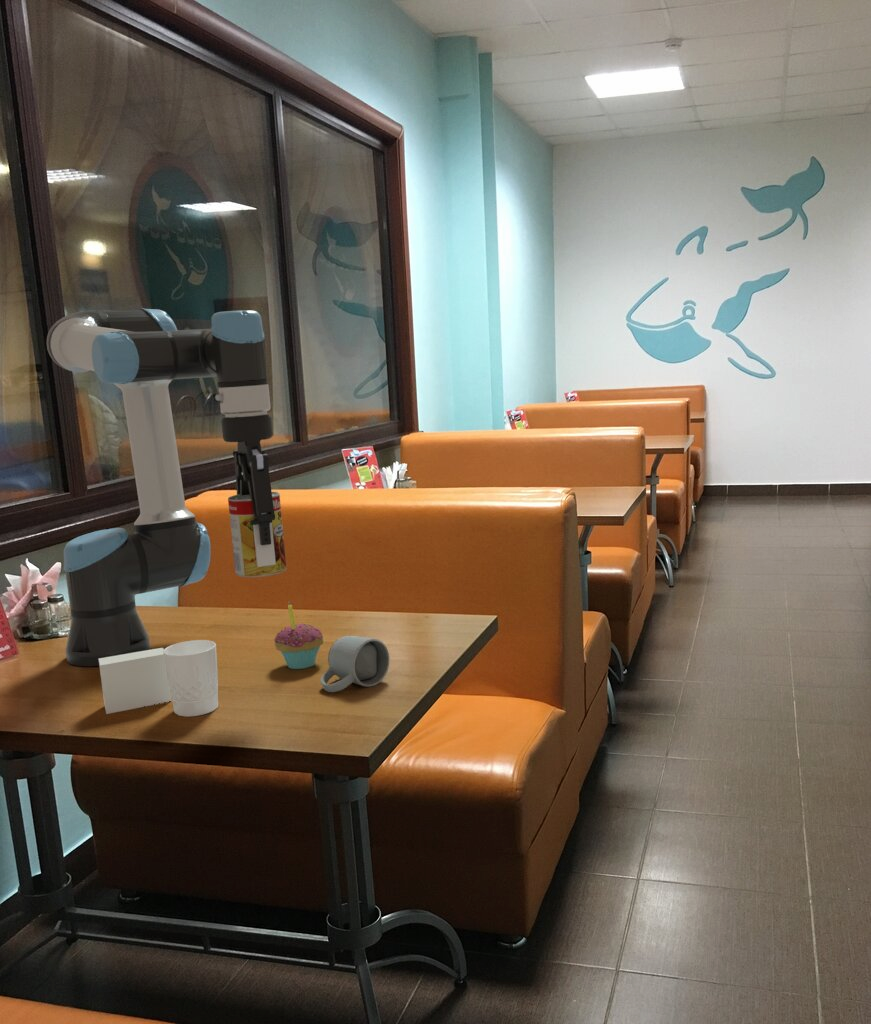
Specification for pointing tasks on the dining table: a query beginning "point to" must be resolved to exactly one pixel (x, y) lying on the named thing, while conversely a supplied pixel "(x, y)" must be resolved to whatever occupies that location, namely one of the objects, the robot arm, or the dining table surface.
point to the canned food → (245, 537)
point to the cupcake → (298, 643)
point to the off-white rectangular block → (134, 680)
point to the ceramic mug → (356, 662)
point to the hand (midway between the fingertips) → (260, 560)
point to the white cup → (192, 677)
